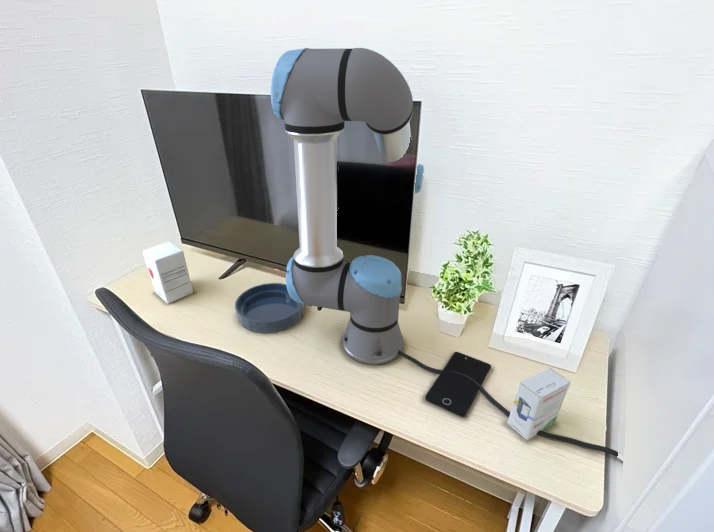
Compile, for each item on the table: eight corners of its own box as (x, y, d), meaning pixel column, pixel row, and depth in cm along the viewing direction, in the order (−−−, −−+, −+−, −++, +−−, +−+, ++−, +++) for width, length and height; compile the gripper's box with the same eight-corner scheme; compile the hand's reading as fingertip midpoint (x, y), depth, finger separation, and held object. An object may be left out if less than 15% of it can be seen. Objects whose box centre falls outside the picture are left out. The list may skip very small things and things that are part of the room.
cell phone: (424, 399, 90) (424, 396, 90) (454, 353, 102) (455, 350, 101) (464, 418, 86) (464, 415, 85) (491, 367, 98) (492, 364, 97)
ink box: (526, 441, 81) (543, 400, 74) (505, 422, 85) (519, 381, 78) (555, 423, 84) (574, 382, 77) (534, 406, 88) (549, 365, 81)
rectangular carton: (154, 292, 129) (140, 250, 121) (180, 282, 134) (169, 240, 126) (167, 304, 124) (154, 260, 115) (194, 293, 129) (183, 250, 120)
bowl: (317, 308, 120) (317, 296, 118) (272, 343, 108) (270, 331, 105) (269, 287, 130) (268, 276, 128) (223, 317, 118) (220, 305, 115)
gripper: (378, 231, 122) (346, 303, 121) (328, 217, 131) (298, 283, 131) (369, 220, 115) (335, 296, 114) (317, 206, 125) (285, 276, 124)
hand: (316, 289), depth 123 cm, fingers closed on supplement bottle, 6 cm apart
